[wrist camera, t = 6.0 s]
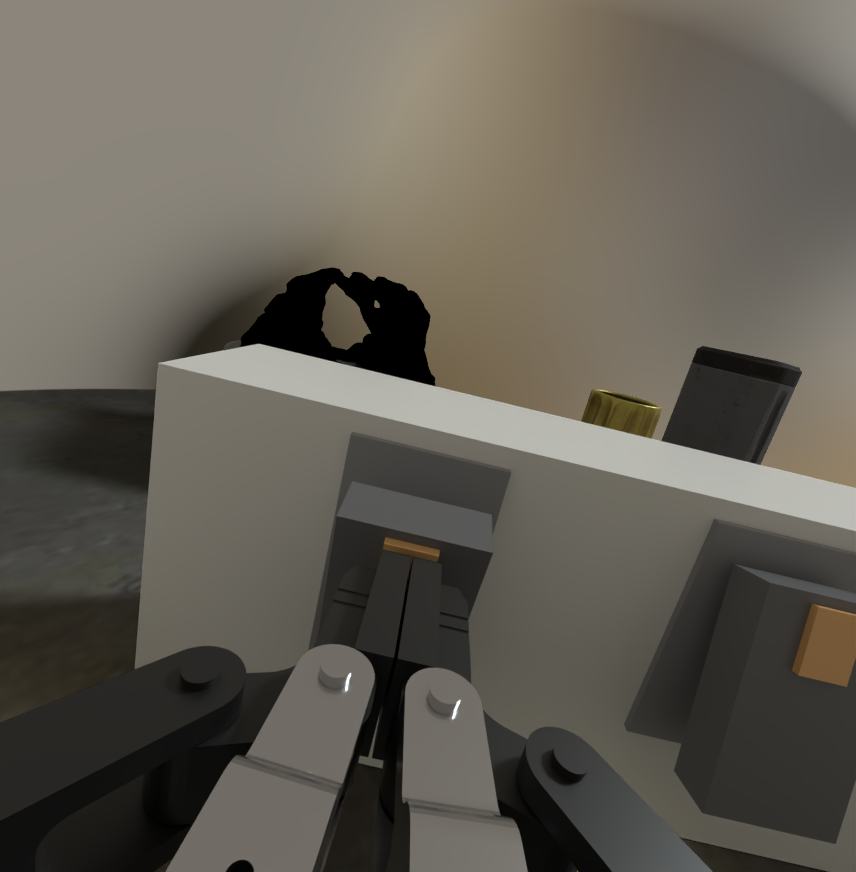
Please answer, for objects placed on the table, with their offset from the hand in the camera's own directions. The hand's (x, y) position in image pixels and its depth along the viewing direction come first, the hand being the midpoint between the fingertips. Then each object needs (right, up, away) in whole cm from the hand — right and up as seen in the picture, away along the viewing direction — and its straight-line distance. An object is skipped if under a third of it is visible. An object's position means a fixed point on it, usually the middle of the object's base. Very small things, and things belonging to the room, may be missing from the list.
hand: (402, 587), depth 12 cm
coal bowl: (-10, +1, +36) cm, 38 cm away
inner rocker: (+11, -8, +3) cm, 13 cm away
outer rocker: (-1, -4, +4) cm, 6 cm away
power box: (+4, -9, +11) cm, 15 cm away
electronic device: (+30, -7, +44) cm, 54 cm away
